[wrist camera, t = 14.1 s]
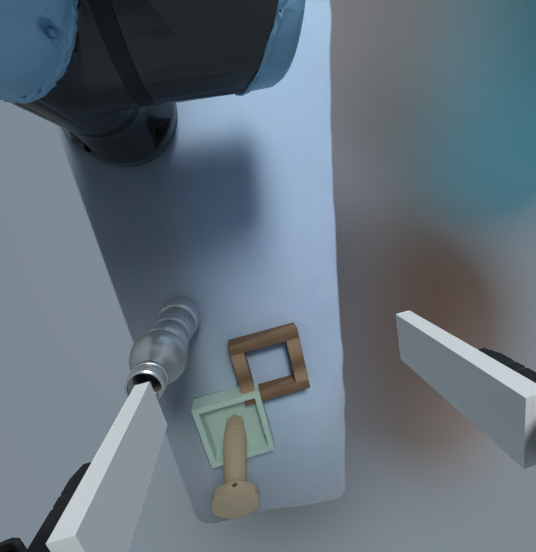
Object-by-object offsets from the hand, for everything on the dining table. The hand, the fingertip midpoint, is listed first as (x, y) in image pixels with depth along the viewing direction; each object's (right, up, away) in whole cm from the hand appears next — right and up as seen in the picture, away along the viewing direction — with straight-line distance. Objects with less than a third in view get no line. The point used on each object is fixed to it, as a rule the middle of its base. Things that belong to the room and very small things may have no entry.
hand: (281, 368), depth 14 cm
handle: (-7, -22, +37) cm, 44 cm away
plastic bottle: (-15, -1, +31) cm, 35 cm away
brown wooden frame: (-1, -11, +35) cm, 37 cm away
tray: (-7, -22, +37) cm, 44 cm away
